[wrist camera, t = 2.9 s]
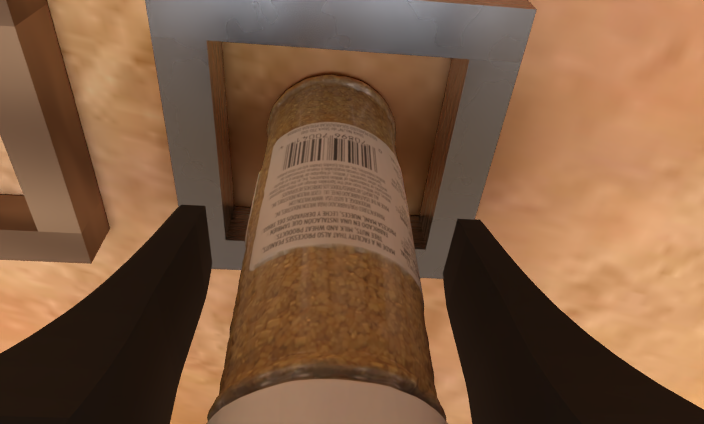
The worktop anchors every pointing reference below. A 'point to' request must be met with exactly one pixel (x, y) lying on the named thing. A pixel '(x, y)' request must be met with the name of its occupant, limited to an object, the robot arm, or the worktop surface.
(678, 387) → the worktop surface
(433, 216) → the socket block
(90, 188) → the brown square frame
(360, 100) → the spice jar
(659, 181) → the worktop surface
